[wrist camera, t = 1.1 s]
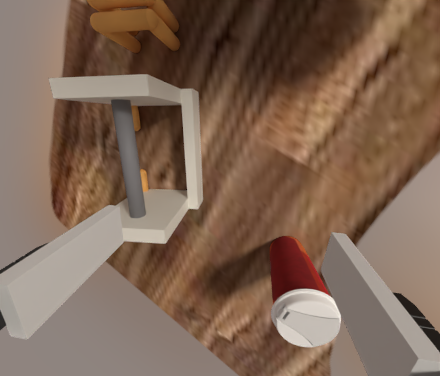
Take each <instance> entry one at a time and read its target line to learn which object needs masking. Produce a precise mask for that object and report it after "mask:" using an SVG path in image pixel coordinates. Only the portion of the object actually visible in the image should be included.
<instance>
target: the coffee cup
mask: <svg viewBox="0 0 440 376" xmlns="http://www.w3.org/2000/svg"><path fill="white" fill-rule="evenodd" d="M270 268H271V283H272V297H273V306H272V309H271V317H272V321H273V323H274V325H275V326H276V327H277V329H278V331H279V333H280V334H281V336H282V337H283V338H284V339H285V340H287V341H288V342H290V343H292V344H295V345H297V346H302V347H316V346H320V345H323V344H326V343H328V342H330V341H331V340H333V339H334V338H335V337H336V335H337V334H338V332H339V329H340V322H341V314H340V312H339V310H338V308H337V305H336V303H335V301H334V299H333V298H332V297H330V295H329V293H328V291H327V290H326V288H325V286H324V284H323V282H322V280H321V279H320V277H319V275H318V273H317V271H316V269H315V268H314V266H313V264H312V262H311V260H310V258H309V257H308V255H307V253H306V251H305V249H304V248H303V246H302V245H301V243H300V242H299V241H298V240H297V239H296V238H294V237H290V236H282V237H279V238H277V239H275V240H274V241H273V242H272V244H271V246H270Z"/></svg>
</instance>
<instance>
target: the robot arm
mask: <svg viewBox="0 0 440 376" xmlns="http://www.w3.org/2000/svg"><path fill="white" fill-rule="evenodd" d="M123 243H124V240H123V232H122V223H121V214H120V206H113V205H108V206H106V207H105V208H103V209H101V210H100V211H98V212H97V213H95V214H94V215H92V216H90V217H89V218H87V219H86V220H84V221H83V222H81V223H79V224H78V225H76V226H75V227H73V228H72V229H70V230H69V231H67V232H65V233H64V234H62V235H61V236H59V237H58V238H56V239H55V240H53V241H51V242H49V243H47V244H44V245H42V246H39V247H37V248H35V249H34V250H32V251H30V252H29V253H27V254H26V255H25V256H22V257H21V258H19V259H18V260H16V261H15V262H13V263H11V264H9V265H8V266H6V267H5V268H3V269H1V270H0V330H1V329H2V328H3V327H4V326H6V327H7V329H8V332H9V334H10V336H12V337H17V338H22V339H28V338H29V337H30V336H31V335H32V334H33V333H34V332H35V331H36V330H37V329H38V328H39V327H40V326H41V325H42V324H43V323H44V322H45V321H46V320H47V319H48V318H49V317H50V316H51V315H52V314H53V313H54V312H55V311H56V310H57V309H58V308H59V307H60V306H61V305H62V304H63V303H64V302H65V301H66V300H67V299H68V298H69V297H70V296H71V295H72V294H73V293H74V292H75V291H76V290H77V289H78V288H79V287H80V286H81V285H82V284H83V283H84V282H85V281H86V280H87V279H88V278H89V277H90V276H91V275H92V274H93V273H94V272H95V271H96V270H97V269H98V268H99V267H100V266H101V265H102V264H103V263H104V262H105V261H106V260H107V259H108V258H109V257H110V256H111V255H112V254H113V253H114V252H115V251H116V250H117V249H118V248H119V247H120V246H121V245H122V244H123ZM321 272H322V274H323V277H324V279H325V281H326V283H327V285H328V288H329V290H330V292H331V294H332V297H333V299H334V301H335V303H336V305H337V308H338V310H339V312H340V314H341V317H342V319H343V321H344V323H345V325H346V328H347V329H348V332H349V334H350V336H351V339H352V341H353V343H354V345H355V348H356V350H357V352H358V354H359V356H360V359H361V361H362V363H363V365H364V367H365V369H366V372H367V374H368V376H440V334H439V332H438V331H436V330H435V329H434V327H433V326H432V324H430V322H429V321H428V320H426V319H425V316H424V315H423V314H422V313H421V312H420V311H419V310H418V308H417V307H416V306H415V305H414V304H413V303H411V302H410V301H409V300H408V299H407V298H405V297H404V296H403V295H401V294H399V293H392V292H391V291H390V289H389V288H388V287H387V286H386V284H385V283H384V282H383V280H382V279H381V278H380V277H379V275H378V274H377V273H376V272H375V270H374V269H373V268H372V267H371V265H370V264H369V263H368V262H367V261H366V259H365V258H364V257H363V255H362V254H361V253H360V251H359V250H358V249H357V248H356V246H355V245H354V244H353V243H352V241H351V240H350V239H349V238H348V236H347V235H346V234H342V233H334V232H332V233H331V236H330V240H329V243H328V247H327V250H326V254H325V257H324V261H323V264H322V268H321Z"/></svg>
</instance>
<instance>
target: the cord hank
mask: <svg viewBox="0 0 440 376" xmlns="http://www.w3.org/2000/svg"><path fill="white" fill-rule="evenodd" d="M87 2H88V3H89V5H90V6H91V7H92V8H94V9H96V10H97V11H98V13H93V14H92V15H91V17H90V23H91V25H92V27H93V28H94V29H95V30H96V31H97V32H99V33H101V34H102V35H104V36H106V37H107V38H109V39H111V40H113V41H114V42H116V43H118V44H120V45H121V46H123V47H125V48H126V49H128V50H130V51H132V52H133V53H138V52H139V51H140V50H141V44H140V42H139V41H138V40H137V39H136V38H134V37H133V36H135V35H137V34H138V32H139V31H140V30H149V31H151V32H152V33H153V34H154V35H155V36H156V37H157V38H158V39H160V40H161V41H162V42H163V43H164V44H165V45H166V46H167V47H168V48H170V49H171V50H172V51H177V50H178V49H179V47H180V41H179V39H178V38H177V37H176V36H175V34H174V33H176V32H177V31H178V29H179V23H178V21H177V19H176V18H175V17H174V15H173V14H172V12H171V11H170V10H169V8H168V7H167V5H166V4H165V3H164V1H163V0H87ZM138 6H147V8H146V9H134V10H121V9H120V8H126V7H138ZM131 35H132V36H131Z"/></svg>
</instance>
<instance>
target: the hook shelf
mask: <svg viewBox="0 0 440 376" xmlns="http://www.w3.org/2000/svg"><path fill="white" fill-rule="evenodd" d="M49 83H50V87H51V91H52V95H53V98H54V99H64V100H73V101H83V102H93V103H103V104H112V110H113V116H114V122H115V128H116V134H117V140H118V146H119V152H120V158H121V164H122V170H123V176H124V182H125V188H126V194H127V198H126V199H125V200H123V201H122V202H120V203H119V204H117V205H116V206H120V214H121V223H122V232H123V240H124V241H131V242H147V243H162V244H166V242H167V241H168V239H169V238H170V236H171V235H172V233H173V232H174V230H175V229H176V227H177V226H178V224H179V222H180V221H181V219H182V218H183V216H184V215H185V213H186V212H187V210H188V209H198V208H199V206H200V205H201V203H202V201H203V188H202V164H201V140H200V116H199V92H197V91H196V90H194V89H179V88H177V87H175V86H173V85H170V84H168V83H166V82H164V81H161V80H159V79H157V78H154V77H152V76H150V75H148V74H137V75H113V76H89V77H65V78H49ZM164 105H182V120H183V135H184V150H185V165H186V180H187V190H165V189H149V188H148V180H147V173H146V171H145V170H143V169H140V166H139V159H138V151H137V144H136V137H135V131H139V130H140V119H139V111H138V106H164Z"/></svg>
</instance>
